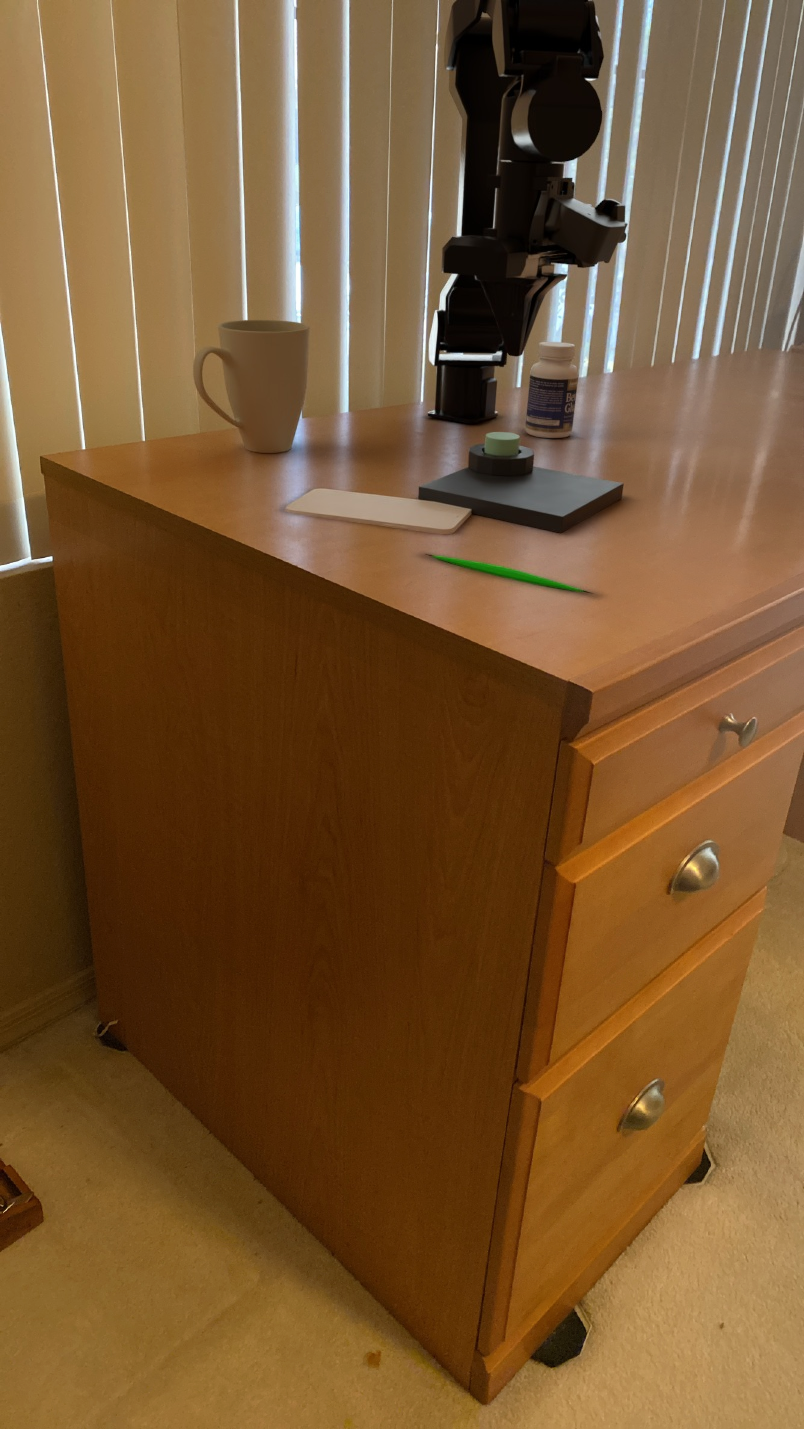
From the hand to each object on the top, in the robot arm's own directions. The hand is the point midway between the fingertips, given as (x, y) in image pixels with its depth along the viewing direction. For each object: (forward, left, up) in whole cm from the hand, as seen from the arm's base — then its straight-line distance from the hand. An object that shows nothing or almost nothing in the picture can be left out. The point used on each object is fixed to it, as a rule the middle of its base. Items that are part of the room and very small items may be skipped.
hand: (515, 355), depth 91 cm
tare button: (+1, -3, -9) cm, 9 cm away
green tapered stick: (+13, -25, -12) cm, 30 cm away
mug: (-25, -8, -11) cm, 28 cm away
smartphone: (-3, -18, -12) cm, 21 cm away
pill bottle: (-5, +19, -11) cm, 23 cm away
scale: (+5, -7, -11) cm, 14 cm away
